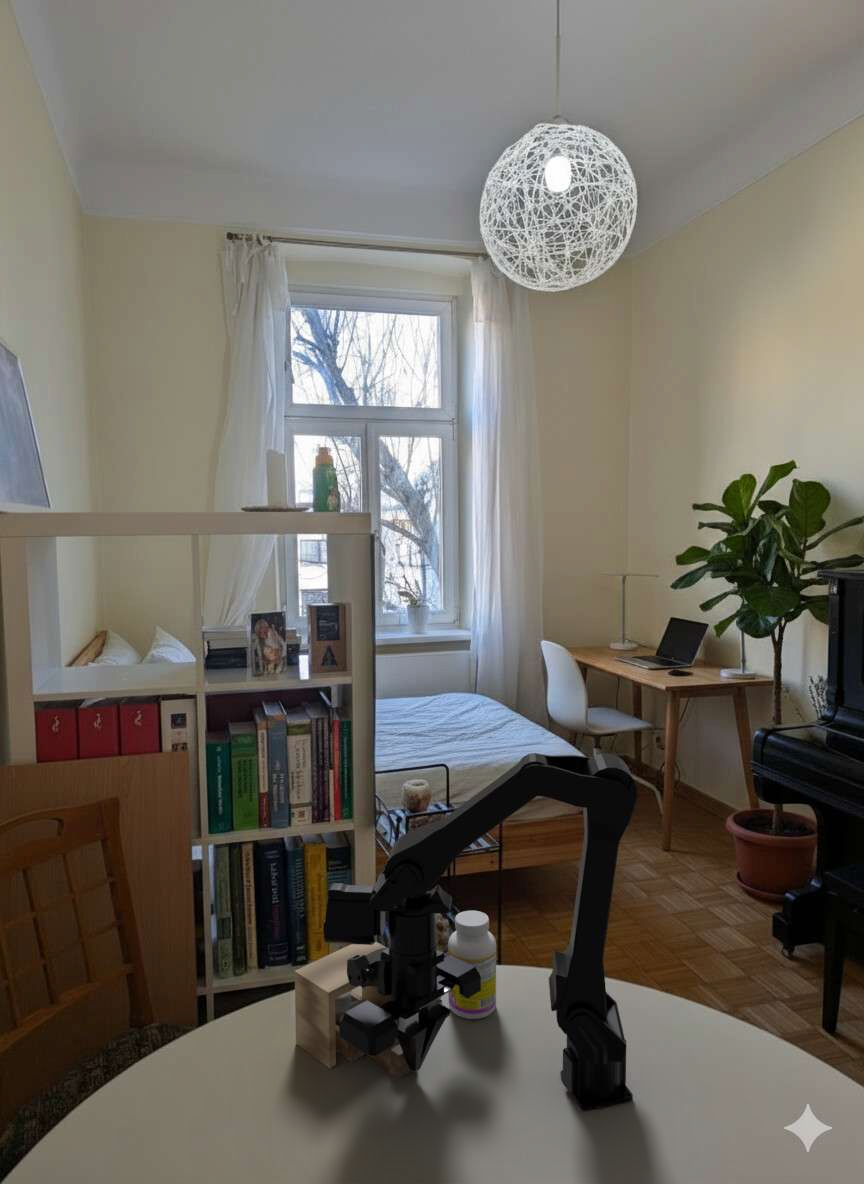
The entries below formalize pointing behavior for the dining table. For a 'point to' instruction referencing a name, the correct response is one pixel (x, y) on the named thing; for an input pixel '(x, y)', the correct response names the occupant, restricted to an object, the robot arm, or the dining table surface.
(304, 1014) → the shelf
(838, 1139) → the dining table surface
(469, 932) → the supplement bottle
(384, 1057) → the wooden box with handle
